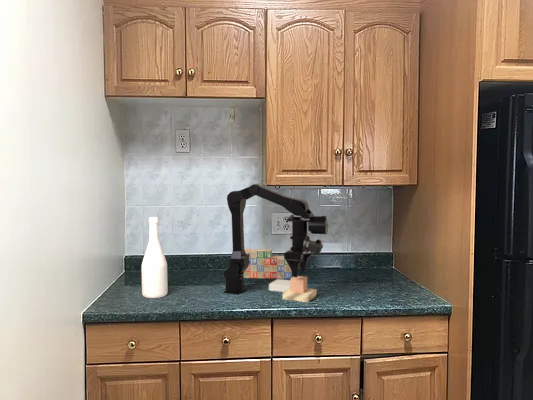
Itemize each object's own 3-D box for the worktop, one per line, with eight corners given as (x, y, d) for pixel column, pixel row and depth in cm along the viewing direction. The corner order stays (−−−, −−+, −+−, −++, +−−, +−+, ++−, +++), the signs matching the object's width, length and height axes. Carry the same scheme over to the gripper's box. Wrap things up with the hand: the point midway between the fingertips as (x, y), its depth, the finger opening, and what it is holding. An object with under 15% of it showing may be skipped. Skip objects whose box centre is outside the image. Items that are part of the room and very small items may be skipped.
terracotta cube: (290, 291, 170) (290, 278, 170) (294, 288, 175) (294, 275, 175) (303, 293, 168) (303, 279, 168) (307, 289, 173) (307, 276, 173)
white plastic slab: (268, 291, 182) (268, 283, 182) (277, 286, 190) (277, 279, 190) (290, 293, 178) (290, 286, 178) (297, 288, 187) (297, 281, 186)
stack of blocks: (292, 276, 207) (292, 249, 206) (291, 279, 201) (291, 251, 200) (245, 274, 210) (245, 248, 209) (243, 278, 203) (243, 250, 203)
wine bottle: (153, 290, 181) (152, 215, 179) (172, 293, 176) (171, 216, 175) (136, 296, 172) (135, 217, 171) (156, 300, 168) (154, 219, 166)
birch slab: (282, 300, 169) (282, 292, 169) (292, 294, 178) (292, 286, 178) (308, 303, 165) (308, 295, 165) (316, 297, 174) (316, 289, 174)
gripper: (313, 237, 159) (313, 282, 160) (326, 231, 176) (326, 271, 177) (283, 236, 163) (283, 279, 164) (299, 229, 180) (299, 269, 181)
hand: (299, 274), depth 172 cm, fingers open, 9 cm apart
